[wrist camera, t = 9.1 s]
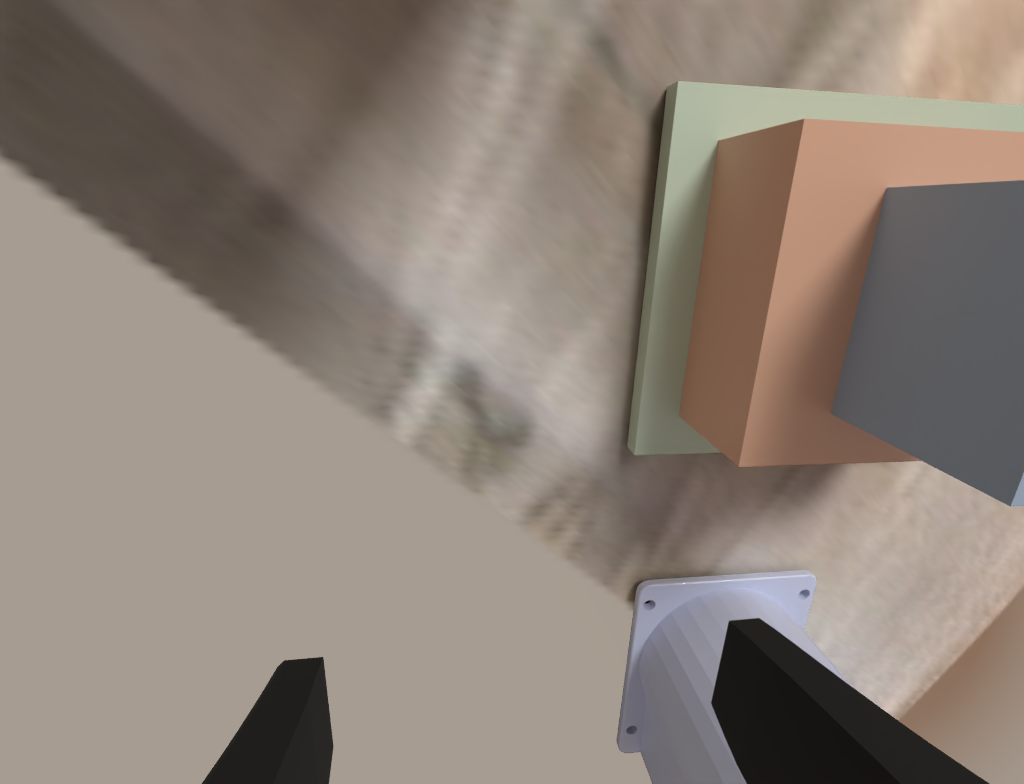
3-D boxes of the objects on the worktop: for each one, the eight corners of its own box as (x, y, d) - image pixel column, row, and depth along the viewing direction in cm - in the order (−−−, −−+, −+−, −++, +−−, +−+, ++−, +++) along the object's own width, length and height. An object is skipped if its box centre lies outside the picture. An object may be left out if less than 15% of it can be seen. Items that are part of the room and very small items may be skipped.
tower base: (908, 438, 21) (1033, 498, 17) (627, 446, 20) (682, 514, 15) (1006, 110, 18) (1201, 75, 13) (667, 87, 16) (756, 38, 12)
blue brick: (953, 412, 15) (1178, 499, 11) (830, 413, 15) (1010, 506, 10) (1025, 194, 14) (1336, 185, 9) (886, 187, 13) (1140, 173, 8)
